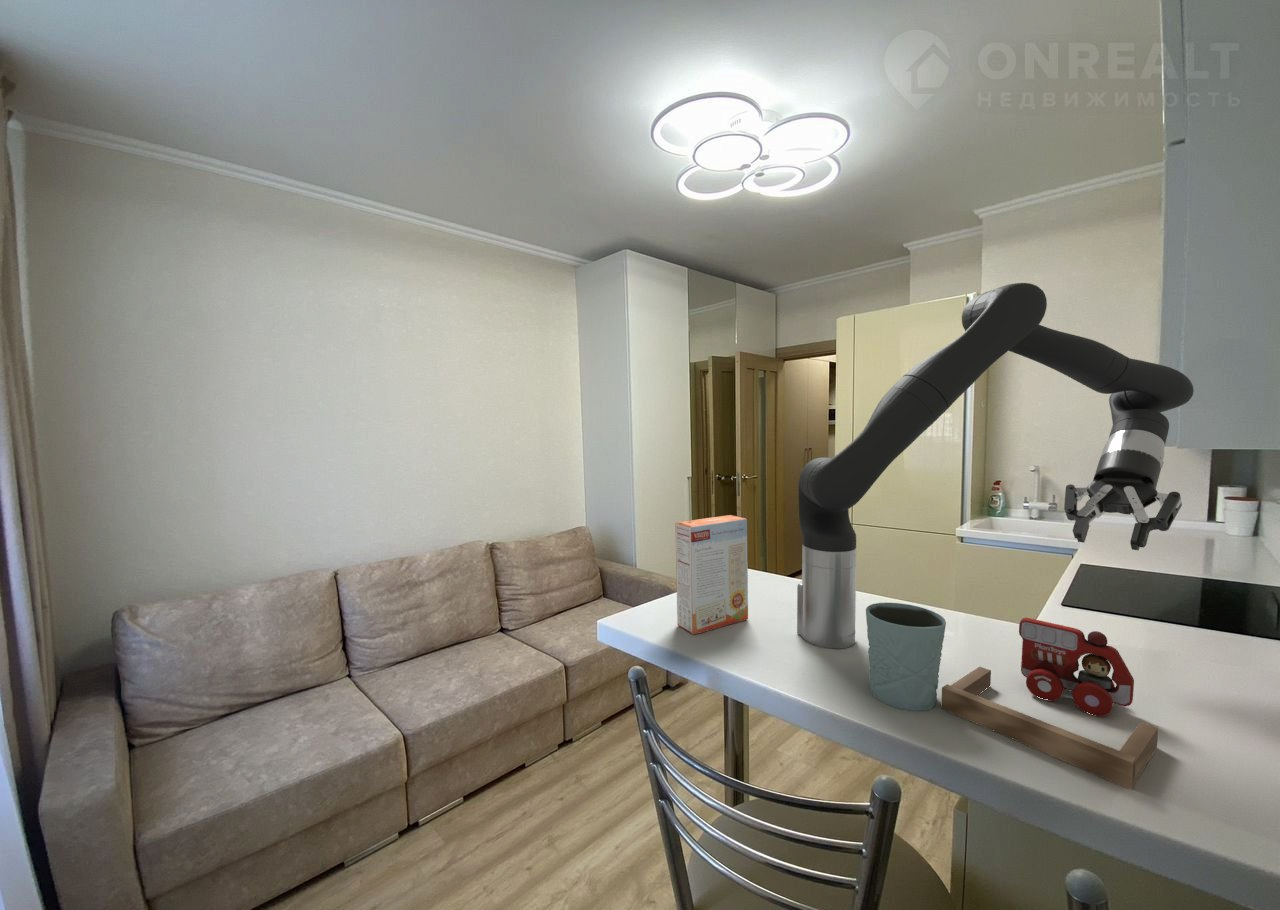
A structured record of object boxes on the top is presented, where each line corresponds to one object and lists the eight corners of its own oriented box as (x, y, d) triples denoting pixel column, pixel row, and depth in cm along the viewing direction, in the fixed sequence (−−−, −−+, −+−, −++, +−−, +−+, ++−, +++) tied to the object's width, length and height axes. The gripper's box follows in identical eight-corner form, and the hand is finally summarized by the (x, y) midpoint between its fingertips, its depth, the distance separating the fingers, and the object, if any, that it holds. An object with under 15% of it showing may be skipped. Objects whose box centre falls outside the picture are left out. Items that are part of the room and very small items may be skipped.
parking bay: (941, 708, 69) (941, 687, 69) (979, 682, 76) (979, 663, 76) (1131, 789, 53) (1132, 762, 53) (1157, 747, 60) (1158, 723, 60)
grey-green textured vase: (851, 691, 74) (852, 611, 73) (885, 670, 80) (886, 596, 79) (924, 723, 66) (926, 634, 65) (955, 697, 72) (957, 615, 71)
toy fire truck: (1130, 728, 64) (1134, 649, 64) (1012, 691, 73) (1014, 622, 73) (1133, 707, 69) (1136, 633, 68) (1022, 675, 78) (1024, 610, 77)
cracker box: (729, 611, 106) (729, 513, 105) (749, 620, 101) (749, 518, 100) (675, 625, 99) (674, 520, 98) (693, 635, 94) (692, 525, 93)
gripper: (1070, 446, 88) (1043, 521, 82) (1190, 449, 76) (1169, 536, 70) (1079, 474, 92) (1054, 548, 85) (1195, 480, 80) (1176, 567, 74)
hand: (1106, 542), depth 78 cm, fingers open, 5 cm apart
